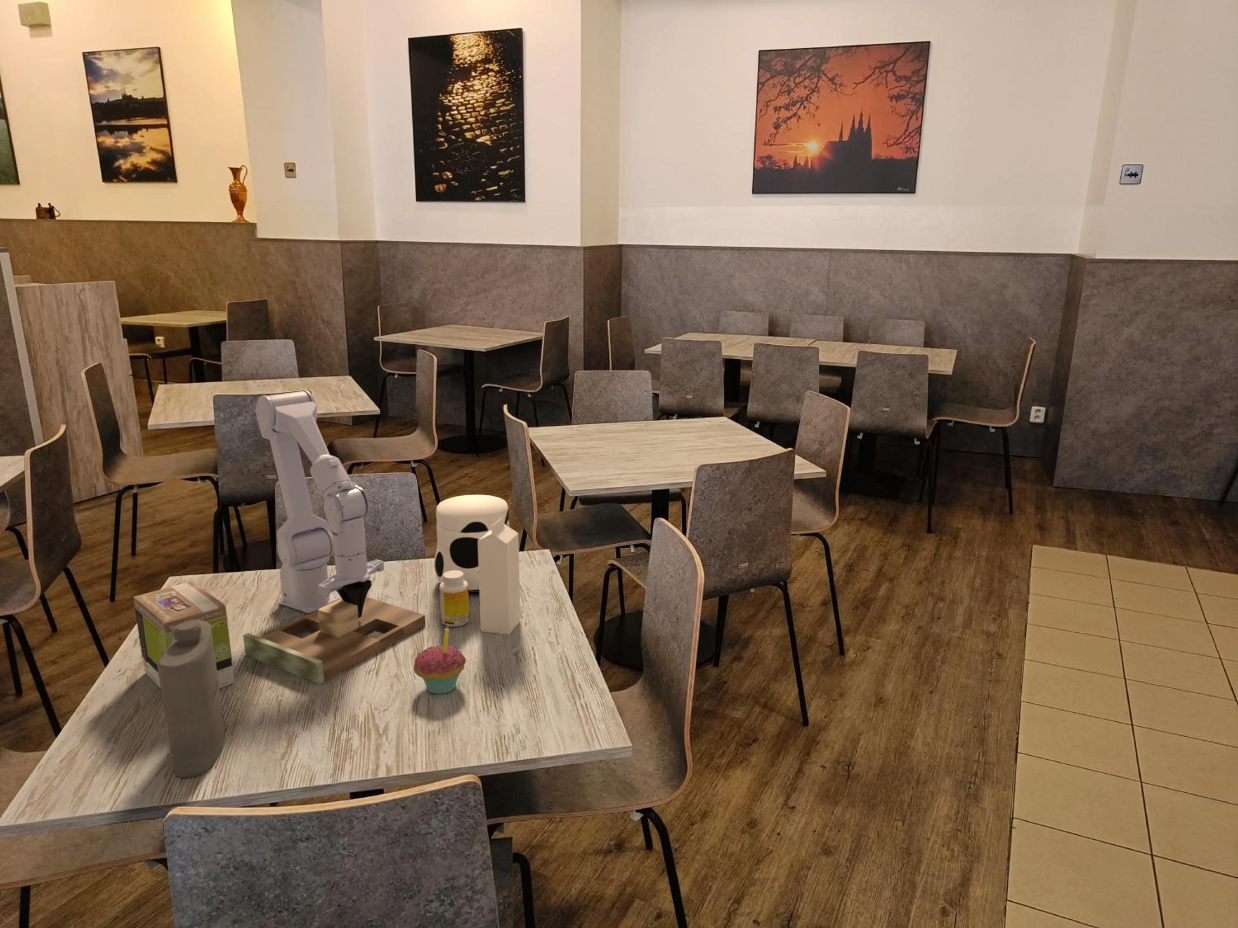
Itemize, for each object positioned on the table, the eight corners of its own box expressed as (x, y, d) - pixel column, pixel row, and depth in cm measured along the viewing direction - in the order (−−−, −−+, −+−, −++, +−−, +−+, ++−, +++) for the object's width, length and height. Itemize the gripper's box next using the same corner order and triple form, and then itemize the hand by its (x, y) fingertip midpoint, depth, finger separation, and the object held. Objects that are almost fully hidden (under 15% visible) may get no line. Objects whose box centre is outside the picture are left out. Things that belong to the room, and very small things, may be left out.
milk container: (450, 564, 189) (447, 491, 184) (522, 569, 187) (521, 495, 182) (423, 595, 173) (418, 516, 168) (502, 601, 170) (499, 520, 166)
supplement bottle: (474, 622, 161) (472, 575, 158) (449, 630, 158) (447, 582, 155) (461, 612, 165) (459, 566, 162) (436, 620, 162) (433, 572, 159)
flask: (216, 773, 115) (198, 647, 110) (170, 781, 113) (150, 653, 108) (230, 716, 129) (215, 601, 123) (189, 722, 127) (172, 606, 122)
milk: (480, 631, 157) (475, 525, 151) (492, 617, 163) (488, 514, 157) (510, 635, 156) (506, 527, 150) (521, 621, 162) (518, 517, 156)
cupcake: (475, 679, 140) (472, 616, 137) (449, 704, 133) (446, 638, 129) (432, 670, 143) (428, 608, 140) (404, 694, 135) (400, 629, 132)
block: (319, 631, 152) (317, 609, 151) (340, 620, 157) (338, 599, 155) (338, 637, 150) (336, 615, 149) (359, 627, 154) (357, 605, 153)
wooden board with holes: (245, 654, 148) (243, 634, 146) (355, 601, 169) (353, 584, 168) (319, 684, 138) (317, 663, 137) (425, 624, 160) (424, 605, 159)
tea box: (237, 683, 138) (227, 603, 134) (174, 706, 131) (161, 623, 127) (203, 652, 148) (192, 578, 144) (142, 673, 141) (129, 595, 137)
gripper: (334, 568, 145) (340, 636, 149) (393, 543, 157) (397, 607, 161) (307, 560, 148) (314, 627, 152) (367, 536, 160) (372, 599, 164)
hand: (355, 616), depth 157 cm, fingers closed
